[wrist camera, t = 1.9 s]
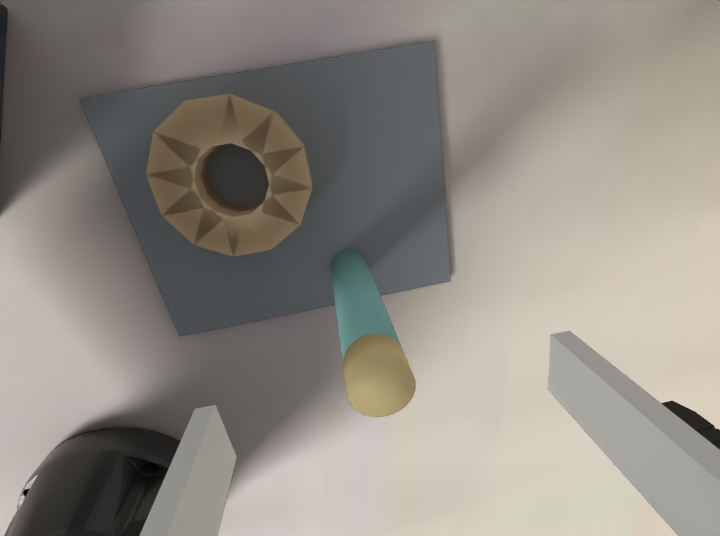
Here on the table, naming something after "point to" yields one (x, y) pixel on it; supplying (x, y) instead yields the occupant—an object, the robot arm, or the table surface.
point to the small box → (2, 52)
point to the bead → (192, 184)
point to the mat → (329, 184)
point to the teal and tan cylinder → (368, 341)
